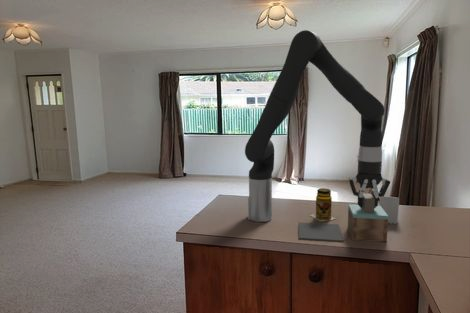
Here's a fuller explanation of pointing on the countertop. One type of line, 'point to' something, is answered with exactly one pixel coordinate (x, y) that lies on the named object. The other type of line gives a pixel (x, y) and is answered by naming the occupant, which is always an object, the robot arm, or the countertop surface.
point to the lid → (368, 209)
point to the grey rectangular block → (390, 208)
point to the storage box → (367, 228)
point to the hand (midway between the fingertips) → (367, 207)
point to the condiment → (323, 205)
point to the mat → (320, 231)
